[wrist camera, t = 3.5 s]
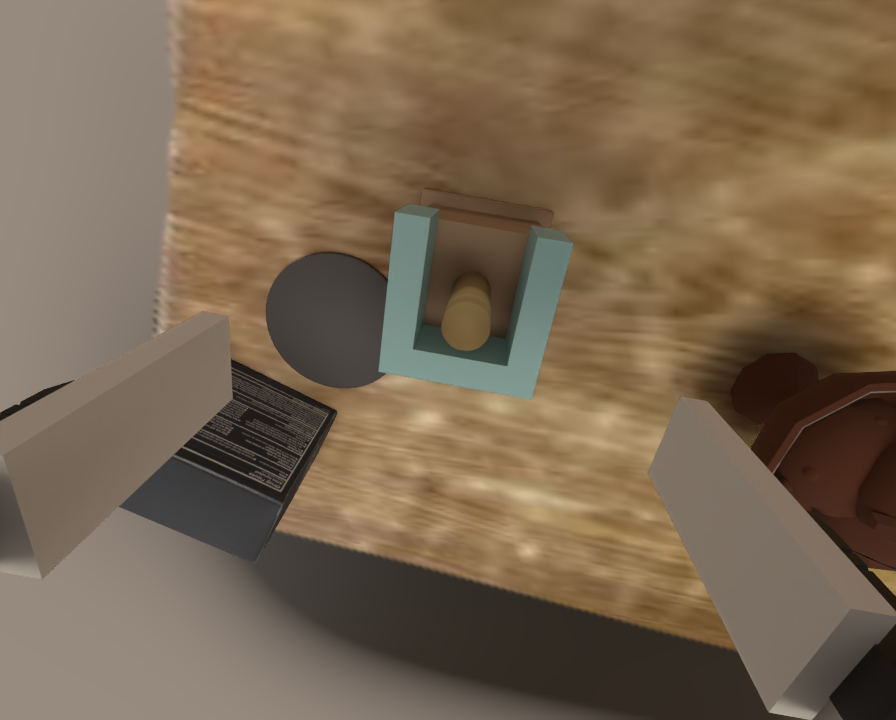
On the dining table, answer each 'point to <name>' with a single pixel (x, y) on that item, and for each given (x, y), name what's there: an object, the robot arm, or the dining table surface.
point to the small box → (238, 467)
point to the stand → (476, 265)
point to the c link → (498, 359)
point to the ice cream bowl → (829, 446)
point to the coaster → (329, 319)
